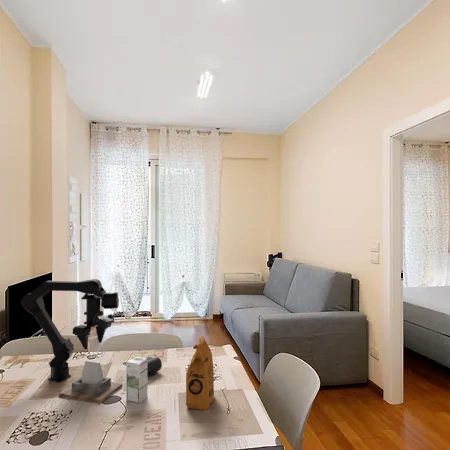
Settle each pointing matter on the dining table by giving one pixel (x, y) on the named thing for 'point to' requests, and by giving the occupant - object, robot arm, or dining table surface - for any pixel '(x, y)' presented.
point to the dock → (91, 390)
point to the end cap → (153, 365)
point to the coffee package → (200, 378)
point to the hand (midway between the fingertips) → (93, 345)
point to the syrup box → (136, 379)
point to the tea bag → (92, 373)
